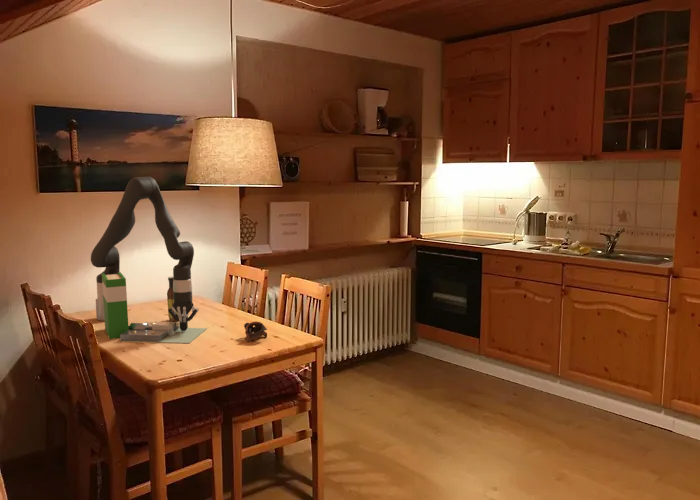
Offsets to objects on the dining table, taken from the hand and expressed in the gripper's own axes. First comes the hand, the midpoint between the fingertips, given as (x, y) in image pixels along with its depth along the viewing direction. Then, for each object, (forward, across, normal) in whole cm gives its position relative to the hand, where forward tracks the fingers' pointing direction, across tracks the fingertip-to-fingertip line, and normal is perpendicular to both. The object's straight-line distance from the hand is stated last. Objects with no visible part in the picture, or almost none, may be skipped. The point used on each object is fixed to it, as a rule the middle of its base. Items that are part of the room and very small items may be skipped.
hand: (184, 330), depth 248 cm
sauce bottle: (+1, -11, +20) cm, 23 cm away
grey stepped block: (0, -12, -9) cm, 15 cm away
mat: (+1, -6, -5) cm, 8 cm away
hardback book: (+1, -28, -3) cm, 28 cm away
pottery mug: (+1, +32, -7) cm, 32 cm away
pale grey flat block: (0, -10, -1) cm, 10 cm away
